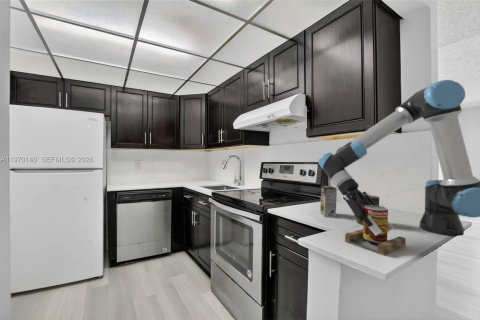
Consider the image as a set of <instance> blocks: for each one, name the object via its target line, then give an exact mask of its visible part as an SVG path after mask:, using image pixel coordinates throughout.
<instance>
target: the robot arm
mask: <svg viewBox="0 0 480 320" xmlns="http://www.w3.org/2000/svg"><path fill="white" fill-rule="evenodd" d="M465 99H466V90H465V88H464V86H463V85H461V84H460V83H459V82H458V81H454V80H451V79H443V80H439V81H436V82H433V83H431V84H429V85H428V86H426V87H424V88H422V89H420V90H419V91H416V92H415V93H414V94H413V95H411V96H410V97H409V98H408V99H406V100H405V101H404V102H403V103H401V104H400V105H399V106H397V107H395V110H394V111H393V112H392V113H390V114H388V116H386V117H384V118H383V119H382V120H380V121H378V122H377V123H375V124H374V125H373V126H371V127H369V128H368V129H367V130H365V131H364V132H362V133H361V134H359V135H358V136H356V137H355V138H353V139H352V140H350V141H349V142H347V143H345V145H342V146H341V147H339V148H337V149H336V152H335V153H332V152H327V153H324V154H323V155H321V156H320V157H319V159H318V165H319V166H320V168H321V169H322V170H323V172H324V173H325V174H326V175H327V177H328V178H329V180H330V181H332V182H331V183H333V185H335V186H334V187H335V188H337V190H338V191H339V193H341V195H343V197H342V199H343V200H344V201H345V202H346V203H347V205H348V206H349V208H350V210H351V211H352V213H353V214H354V216H355V218H356V219H359V218H360V219H359V220H360V221H361V220H363V221H364V222H365V223H366V224H367V226H368V227H369V228H370V230H371V231H372V232H373V233H374V235H375V236H377V235H378V234H380V233H381V232H382V231H381V230H380V228H379V227H378V226H377V225H376V223H375V222H374V221H373V220H372V218H371V217H370V216H368V217H367V214H366V212H365V210H364V208H363V206H362V205H364V206H365V205H375V206H378V205H377V204H376V203H375V202H374V201H373V200H372V199H371V198H370V197H369V196H368V195H369V193H368V192H366V191H363V192H362V191H361V190H360V189H359V186H360V185H359V183H358V182H357V181H356V180H355V179H354V178H353V176H352V175H351V174H350V173H349V171H347V169H345V168H347V167H349V166H350V165H352V164H354V163H356V162H357V161H359V160H360V159H362V158H363V157H365V156H367V154H368V150H369V148H371V147H373V146H374V145H376V144H377V143H378V142H380V141H382V140H383V139H384V138H386V137H388V136H389V135H391V134H392V133H394V132H396V131H397V130H399V129H401V128H402V127H404V126H405V125H407V124H408V125H409V124H412V123H414V122H416V121H418V120H419V119H421V118H423V121H425V122H427V123H428V124H429V126H430V127H429V128H430V130H431V135H432V137H433V142H434V147H435V150H436V155H437V158H438V162H439V165H440V169H441V174H442V179H430V180H426V182H425V187H424V212H423V214H422V216H421V218H420V220H419V228H420V229H422V230H424V231H427V232H430V233H434V234H440V235H445V236H452V237H453V236H454V237H455V236H456V237H458V236H463V235H465V229H464V226H463V223H462V222H461V218H460V216H462V217H468V218H480V179H479V178H477V177H476V176H474V175H473V174H474V173H473V171H472V167H471V162H470V159H469V155H468V152H467V148H466V143H465V140H464V136H463V132H462V129H461V125H460V122H459V115H460V114H461V113H462V111H463V110H462V107H461V106H462V105H461V104H462V103H463V101H464V100H465ZM393 229H394V227H393V226H392V224H391V223H390V222H389V221H388V228H387V233H388V232H390V231H391V230H393Z"/></svg>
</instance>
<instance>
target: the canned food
mask: <svg viewBox="0 0 480 320" xmlns="http://www.w3.org/2000/svg"><path fill="white" fill-rule="evenodd" d="M364 210H365V212H366V214H367V217H368V216H370V217H371V218H372V220H373V221H374V222H375V223H376V225H377V226H378V227H379V228H380V230H381V231H382V232H381V233H380V234H378V235H377V236H375V235H374V233H373V232H372V231H371V230H370V228H369V227H368V226H367V224H366V223H365V222H364V221H363V224H362V225H363V227H362V229H363V238H365V239H366V240H369V241H373V242H379V243H383V242H386V241H387V240H388V232H387V228H388V222H389V221H388V220H389V208H388V207H385V206H382V205H379V206H375V205H365V206H364Z"/></svg>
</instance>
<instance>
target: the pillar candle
mask: <svg viewBox="0 0 480 320" xmlns="http://www.w3.org/2000/svg"><path fill="white" fill-rule="evenodd" d="M368 196H369V197H370V198H371V199H372V200H373V201H374V202H375V203H376V204H377V205H378V206H380V196H378V195H371V194H368ZM362 206H363V208H364V205H362ZM359 219H360V218H359ZM359 219H357V218H356V223H357V224H360V225H363V220H361V221H360V220H359Z"/></svg>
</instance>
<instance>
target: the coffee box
mask: <svg viewBox="0 0 480 320" xmlns="http://www.w3.org/2000/svg"><path fill="white" fill-rule="evenodd" d="M337 190H338V187H336V186H331V185H320V210H319V212H320V214H321V215H322V216H323V217H324V218H336V217H337V197H338V196H337V195H338V194H337V193H338V191H337Z"/></svg>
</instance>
